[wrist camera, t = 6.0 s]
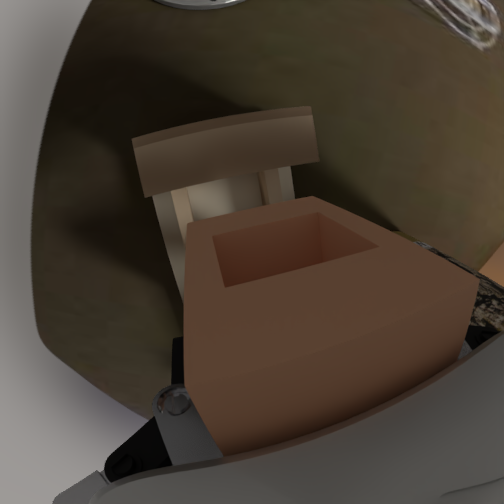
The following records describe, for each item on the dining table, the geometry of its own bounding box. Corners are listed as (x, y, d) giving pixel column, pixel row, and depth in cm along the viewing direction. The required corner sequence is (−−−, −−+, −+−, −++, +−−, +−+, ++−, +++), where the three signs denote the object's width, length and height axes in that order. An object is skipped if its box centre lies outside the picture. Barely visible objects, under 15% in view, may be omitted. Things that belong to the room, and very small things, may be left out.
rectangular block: (187, 223, 11) (184, 386, 3) (312, 195, 11) (479, 279, 4) (231, 375, 14) (268, 520, 6) (324, 348, 14) (402, 469, 7)
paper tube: (415, 261, 30) (578, 381, 7) (374, 297, 31) (527, 451, 8) (398, 216, 28) (605, 334, 5) (352, 255, 28) (553, 429, 5)
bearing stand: (144, 146, 21) (112, 144, 12) (276, 119, 22) (327, 104, 13) (221, 397, 31) (233, 462, 23) (308, 374, 33) (338, 431, 24)
